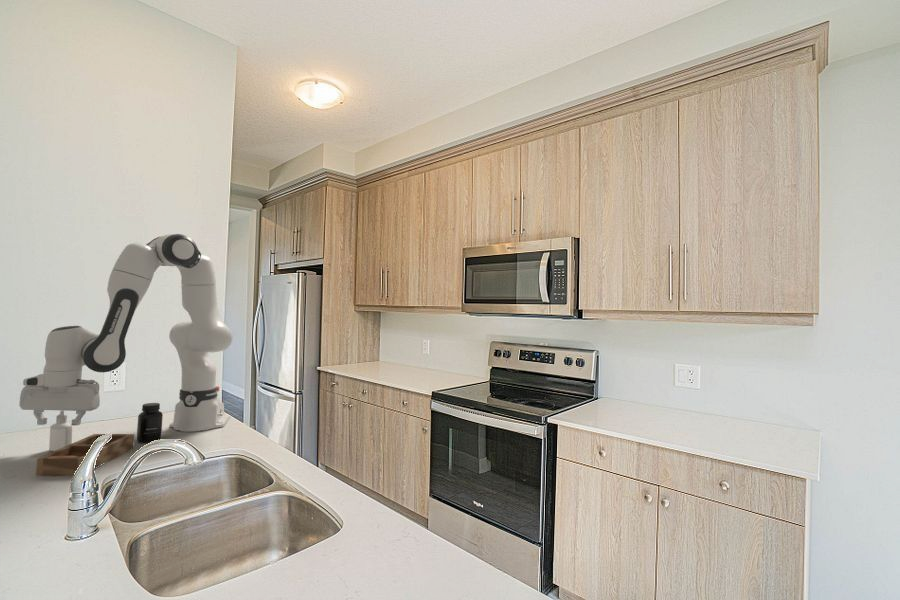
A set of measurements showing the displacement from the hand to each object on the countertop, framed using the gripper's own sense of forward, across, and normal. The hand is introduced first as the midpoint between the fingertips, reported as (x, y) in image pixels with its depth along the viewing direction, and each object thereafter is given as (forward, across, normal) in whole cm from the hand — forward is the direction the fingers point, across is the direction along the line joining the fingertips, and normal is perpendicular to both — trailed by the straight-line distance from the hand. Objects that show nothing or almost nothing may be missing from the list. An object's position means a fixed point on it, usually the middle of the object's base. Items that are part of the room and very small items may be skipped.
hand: (59, 424), depth 132 cm
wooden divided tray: (+8, -14, +8) cm, 18 cm away
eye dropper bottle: (+8, 0, -1) cm, 8 cm away
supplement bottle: (+8, -20, -11) cm, 24 cm away
